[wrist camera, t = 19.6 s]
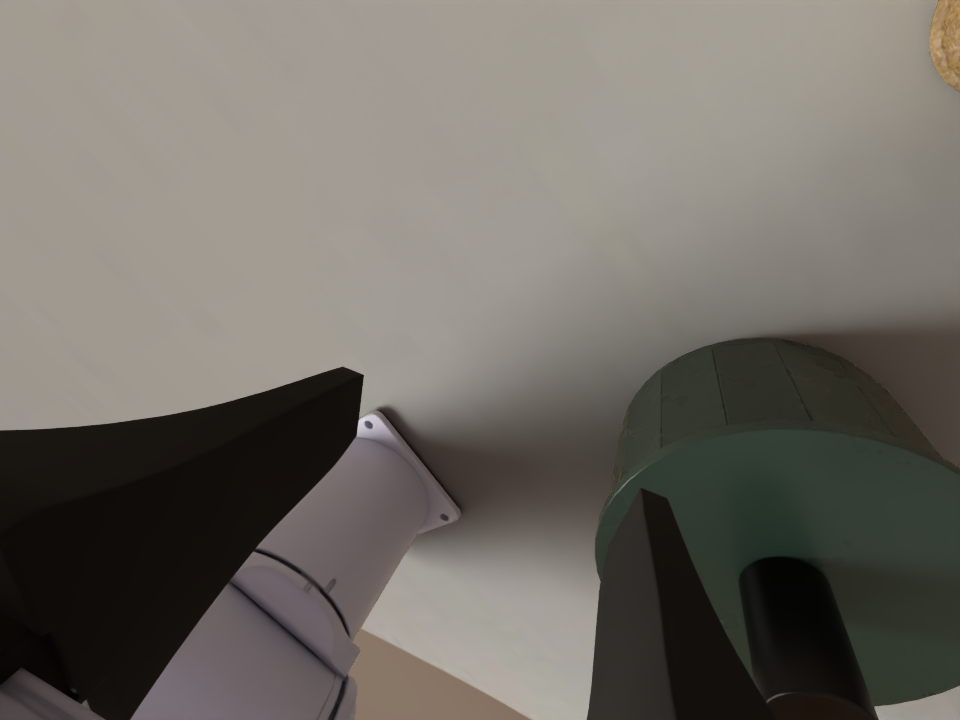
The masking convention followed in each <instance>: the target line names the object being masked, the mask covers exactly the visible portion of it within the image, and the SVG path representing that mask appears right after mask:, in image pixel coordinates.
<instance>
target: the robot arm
mask: <svg viewBox="0 0 960 720" xmlns="http://www.w3.org/2000/svg"><path fill="white" fill-rule="evenodd" d="M363 377H364V375H362V374H360V373H357V372H355V371H352V370H350V369H348V368H345V367H340V368H337V369H333V370H330V371H327V372H324V373H321V374H317V375H314V376H311V377H308V378H305V379H302V380H299V381H296V382H293V383H290V384H287V385H284V386H281V387H278V388H275V389H271V390H268V391H265V392H262V393H258V394H255V395H251V396H247V397H244V398H240V399H237V400H233V401H230V402H226V403H222V404H218V405H214V406H210V407H206V408H201V409H197V410H192V411H187V412H182V413H177V414H172V415H166V416H160V417H153V418H146V419H139V420H132V421H125V422H118V423H110V424H101V425H91V426H81V427H67V428H54V429H36V430H4V431H0V720H354V719H355V714H356V697H357V683H356V680H355V679H354V678H353V677H352V676H351V675H349V674H348V672H349V670H350V668H351V666H352V665H353V663H354V661H355V659H356V658H357V656H358V654H359V652H360V649H359V648H358V647H357V646H356V645H355V644H354V643H353V640H354V638H355V637H356V635H357V633H358V632H359V630H360V628H361V627H362V625H363V623H364V622H365V620H366V618H367V617H368V615H369V613H370V612H371V610H372V608H373V607H374V605H375V603H376V602H377V600H378V598H379V597H380V595H381V593H382V592H383V590H384V588H385V586H386V585H387V583H388V581H389V580H390V578H391V576H392V575H393V573H394V571H395V570H396V568H397V566H398V565H399V563H400V561H401V560H402V558H403V556H404V555H405V553H406V551H407V550H408V548H409V546H410V545H411V543H412V541H413V540H414V538H415V536H417V535H419V534H422V533H425V532H427V531H430V530H433V529H436V528H438V527H441V526H444V525H446V524H449V523H452V522H454V521H457V520H458V519H459V517H460V514H461V512H460V509H459V508H458V507H457V505H456V504H455V503H454V502H453V501H452V499H451V498H450V497H449V496H448V494H447V493H446V492H445V491H444V489H443V488H442V487H441V486H440V484H439V483H438V482H437V481H436V479H435V478H434V477H433V476H432V474H431V473H430V472H429V471H428V469H427V468H426V467H425V466H424V465H423V463H422V462H421V461H420V460H419V458H418V457H417V456H416V455H415V453H414V452H413V451H412V450H411V448H410V447H409V446H408V445H407V443H406V442H405V441H404V440H403V438H402V437H401V436H400V435H399V433H398V432H397V431H396V430H395V428H394V427H393V426H392V425H391V424H390V422H389V421H388V420H387V419H386V417H385V416H384V415H383V414H382V413H381V412H379V411H376V410H374V411H371V412H370V413H368V414H367V415H365V416H363V417H362V418H360V419H359V412H360V403H361V394H362V386H363ZM369 421H370V422H371V423H372V424H373V425H372V424H370V423H369ZM444 514H445V515H444ZM446 515H447V516H446ZM587 720H777V718H776V717H775V715H774V714H773V712H772V711H771V709H770V707H769V706H768V704H767V703H766V701H765V699H764V698H763V696H762V695H761V693H760V691H759V690H758V688H757V686H756V685H755V683H754V681H753V680H752V678H751V676H750V675H749V673H748V671H747V669H746V668H745V666H744V664H743V663H742V661H741V659H740V658H739V656H738V654H737V652H736V651H735V649H734V647H733V645H732V643H731V641H730V640H729V638H728V636H727V634H726V632H725V630H724V628H723V626H722V624H721V622H720V620H719V618H718V616H717V614H716V612H715V610H714V608H713V606H712V604H711V602H710V600H709V598H708V595H707V593H706V591H705V589H704V587H703V584H702V582H701V580H700V577H699V575H698V573H697V571H696V568H695V566H694V564H693V561H692V559H691V557H690V554H689V552H688V549H687V547H686V544H685V542H684V539H683V537H682V534H681V532H680V529H679V527H678V524H677V521H676V519H675V516H674V514H673V511H672V508H671V506H670V503H669V501H668V499H667V498H666V497H663V496H661V495H658V494H656V493H653V492H651V491H648V490H646V489H643V488H640V489H639V491H638V493H637V495H636V497H635V498H634V500H633V502H632V504H631V506H630V507H629V509H628V511H627V513H626V514H625V516H624V518H623V520H622V522H621V523H620V525H619V527H618V529H617V531H616V532H615V534H614V536H613V538H612V540H611V541H610V543H609V545H608V549H607V554H606V559H605V563H604V568H603V573H602V578H601V583H600V590H599V601H598V613H597V625H596V637H595V649H594V662H593V674H592V686H591V694H590V703H589V710H588V716H587Z"/></svg>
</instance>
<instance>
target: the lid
mask: <svg viewBox="0 0 960 720" xmlns="http://www.w3.org/2000/svg"><path fill="white" fill-rule="evenodd" d="M640 488H643V489H646V490H648V491H651V492H653V493H656V494H658V495H661V496H663V497H666V498H667V499H668V501H669V503H670V506H671V508H672V511H673V514H674V516H675V519H676V521H677V524H678V527H679V529H680V532H681V534H682V537H683V539H684V542H685V544H686V547H687V549H688V552H689V554H690V557H691V559H692V561H693V564H694V566H695V568H696V571H697V573H698V575H699V577H700V580H701V582H702V584H703V587H704V589H705V591H706V593H707V595H708V598H709V600H710V602H711V604H712V606H713V608H714V610H715V612H716V614H717V616H718V618H719V620H720V622H721V624H722V626H723V628H724V630H725V632H726V634H727V636H728V638H729V640H730V641H731V643H732V645H733V647H734V649H735V651H736V652H737V654H738V656H739V658H740V659H741V661H742V663H743V664H744V666H745V668H746V669H747V671H748V673H749V675H750V676H751V678H752V680H753V681H754V683H755V685H756V686H757V688H758V690H759V691H760V693H761V695H762V696H763V698H764V699H765V701H766V703H767V704H768V706H769V707H770V709H771V711H772V712H773V714H774V715H775V717H776V718H777V720H879V719H878V717H877V714H876V711H875V708H874V706H883V705H892V704H898V703H903V702H908V701H914V700H918V699H922V698H925V697H929V696H932V695H936V694H939V693H943V692H945V691H947V690H950V689H952V688H955V687H957V686H960V468H959V467H957V466H955V465H954V464H952V463H950V462H948V461H947V460H945V459H943V458H941V457H939V456H938V455H936V454H934V453H932V452H930V451H928V450H926V449H923V448H921V447H918V446H916V445H914V444H911V443H909V442H907V441H904V440H902V439H899V438H896V437H892V436H889V435H886V434H882V433H879V432H876V431H872V430H869V429H864V428H859V427H854V426H849V425H844V424H838V423H831V422H820V421H810V420H764V421H754V422H744V423H737V424H732V425H727V426H722V427H717V428H712V429H709V430H706V431H703V432H699V433H696V434H693V435H690V436H687V437H684V438H682V439H680V440H678V441H675V442H673V443H671V444H669V445H667V446H664V447H663V448H661V449H659V450H658V451H656V452H654V453H653V454H651V455H649V456H648V457H646V458H645V459H643V460H642V461H641V462H640V463H638V464H637V465H636V466H635V467H633V468H632V469H631V470H630V471H629V472H628V473H627V474H626V475H625V476H624V477H623V478H622V479H621V480H620V482H619V483H618V484H617V485H616V486H615V488H614V489H613V491H612V492H611V494H610V495H609V497H608V498H607V500H606V502H605V505H604V507H603V509H602V512H601V514H600V517H599V522H598V527H597V531H596V538H595V560H596V567H597V572H598V575H599V578H600V581H601V578H602V573H603V568H604V563H605V559H606V554H607V549H608V545H609V543H610V541H611V540H612V538H613V536H614V534H615V532H616V531H617V529H618V527H619V525H620V523H621V522H622V520H623V518H624V516H625V514H626V513H627V511H628V509H629V507H630V506H631V504H632V502H633V500H634V498H635V497H636V495H637V493H638V491H639V489H640Z"/></svg>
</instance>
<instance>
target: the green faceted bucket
mask: <svg viewBox="0 0 960 720" xmlns="http://www.w3.org/2000/svg"><path fill="white" fill-rule="evenodd" d="M764 420H810V421H820V422H831V423H838V424H844V425H849V426H854V427H859V428H864V429H869V430H872V431H876V432H879V433H882V434H886V435H889V436H892V437H896V438H899V439H902V440H904V441H907V442H909V443H911V444H914V445H916V446H918V447H921V448H923V449H926V450H928V451H930V452H932V453H934V454H936V455H938V456H939V457H941V456H940V454H939V453H938V452H937V451H936V449H935V448H934V447H933V446H932V445H931V443H930V442H929V441H928V440H927V439H926V437H925V436H924V435H923V434H922V433H921V431H920V430H919V429H918V428H917V427H916V425H915V424H914V423H913V422H912V420H911V419H910V418H909V417H908V416H907V414H906V413H905V412H904V411H903V410H902V408H901V407H900V406H899V405H898V404H897V402H896V401H895V400H894V399H893V397H892V396H891V395H890V394H889V393H888V391H887V390H886V389H885V388H884V387H883V386H881V385H880V384H878V383H877V382H875V381H874V380H873V379H872V378H871V377H870V376H869V375H867V374H866V373H865V372H863V371H862V370H861V369H860V368H858V367H857V366H856V365H854V364H852V363H850V362H849V361H847V360H845V359H843V358H842V357H840V356H838V355H835V354H833V353H831V352H828V351H826V350H823V349H821V348H817V347H814V346H810V345H807V344H803V343H799V342H793V341H786V340H780V339H761V338H759V339H740V340H734V341H727V342H721V343H717V344H713V345H710V346H706V347H702V348H700V349H697V350H695V351H692V352H690V353H687V354H685V355H683V356H681V357H679V358H677V359H676V360H674V361H672V362H670V363H669V364H667V365H666V366H664V367H663V368H662V369H660V370H659V371H657V372H656V373H655V374H654V375H653V376H652V377H651V378H650V379H648V380H647V381H646V382H645V384H644V385H643V386H642V387H641V388H640V390H639V391H638V392H637V393H636V395H635V397H634V398H633V400H632V402H631V403H630V405H629V407H628V410H627V412H626V415H625V418H624V422H623V426H622V430H621V434H620V437H619V440H618V447H617V454H616V461H615V468H614V475H613V482H612V489H611V492H612V491H613V489H614V488H615V486H616V485H617V484H618V483H619V482H620V480H621V479H622V478H623V477H624V476H625V475H626V474H627V473H628V472H629V471H630V470H631V469H632V468H633V467H635V466H636V465H637V464H638V463H640V462H641V461H642V460H643V459H645V458H646V457H648V456H649V455H651V454H653V453H654V452H656V451H658V450H659V449H661V448H663V447H664V446H667V445H669V444H671V443H673V442H675V441H678V440H680V439H682V438H684V437H687V436H690V435H693V434H696V433H699V432H703V431H706V430H709V429H712V428H717V427H722V426H727V425H732V424H737V423H744V422H754V421H764ZM941 458H942V457H941Z"/></svg>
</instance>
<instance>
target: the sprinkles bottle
mask: <svg viewBox="0 0 960 720" xmlns="http://www.w3.org/2000/svg"><path fill="white" fill-rule="evenodd" d="M929 53H930V55H931V56H932V60H933V63H934V66H935V68H936V70H937V71H938V73H939V74H940V75H941V76H942V78H943V79H944V81H945V82H946V83H947V84H949V85H950V86H952V87H953V88H954V89H955V90H957V91H959V92H960V0H939V2H938V4H937V7H936V10H935V13H934V16H933V20H932V23H931V28H930V47H929Z"/></svg>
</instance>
